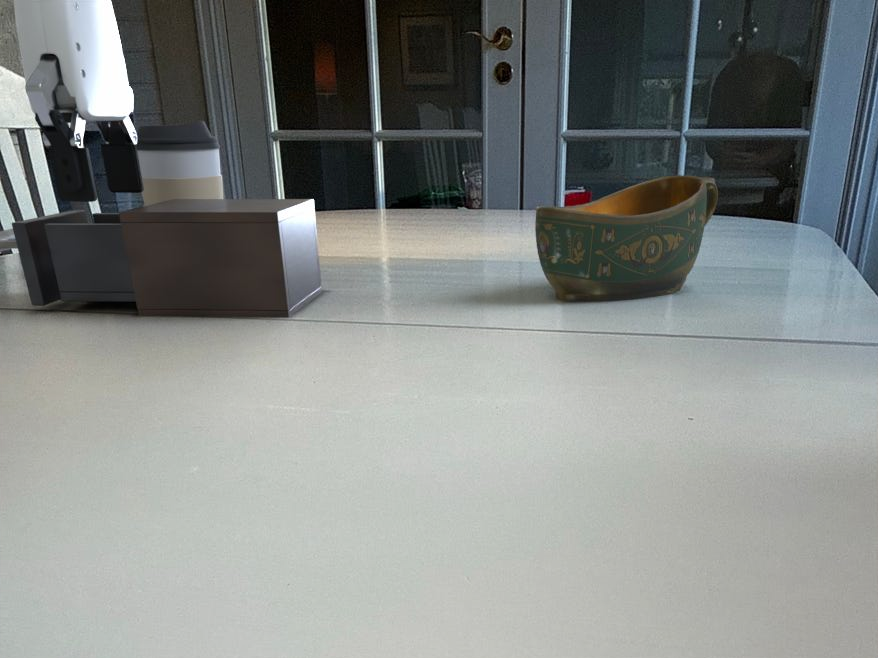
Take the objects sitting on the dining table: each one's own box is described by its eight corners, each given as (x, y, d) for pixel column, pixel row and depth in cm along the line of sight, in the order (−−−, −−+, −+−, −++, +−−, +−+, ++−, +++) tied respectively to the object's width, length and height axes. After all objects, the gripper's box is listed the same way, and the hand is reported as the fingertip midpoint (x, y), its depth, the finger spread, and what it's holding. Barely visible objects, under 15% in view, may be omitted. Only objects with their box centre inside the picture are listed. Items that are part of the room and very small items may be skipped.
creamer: (749, 302, 84) (765, 182, 79) (539, 309, 82) (543, 185, 77) (701, 280, 95) (713, 173, 90) (516, 285, 93) (517, 176, 88)
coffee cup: (137, 281, 97) (107, 121, 89) (180, 269, 105) (155, 120, 97) (213, 284, 95) (189, 121, 87) (251, 271, 103) (232, 119, 95)
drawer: (-26, 305, 81) (-50, 222, 77) (37, 284, 91) (19, 209, 87) (166, 307, 79) (152, 223, 76) (210, 285, 89) (199, 210, 86)
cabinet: (138, 318, 80) (118, 211, 75) (189, 293, 90) (174, 199, 86) (289, 320, 79) (277, 212, 74) (322, 294, 89) (313, 199, 85)
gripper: (65, -27, 80) (105, 189, 88) (-49, -59, 65) (13, 204, 73) (148, -27, 79) (180, 190, 88) (51, -60, 64) (101, 205, 73)
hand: (104, 196), depth 81 cm, fingers open, 9 cm apart
